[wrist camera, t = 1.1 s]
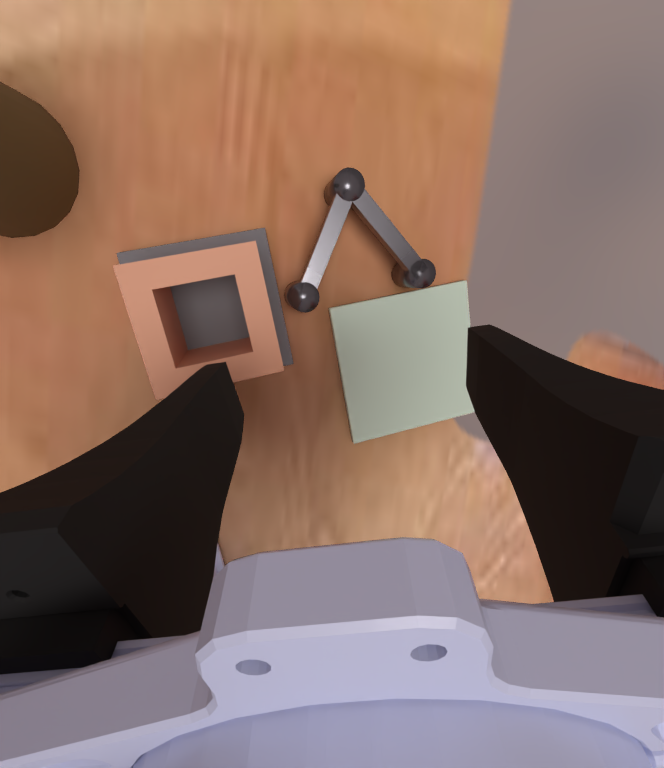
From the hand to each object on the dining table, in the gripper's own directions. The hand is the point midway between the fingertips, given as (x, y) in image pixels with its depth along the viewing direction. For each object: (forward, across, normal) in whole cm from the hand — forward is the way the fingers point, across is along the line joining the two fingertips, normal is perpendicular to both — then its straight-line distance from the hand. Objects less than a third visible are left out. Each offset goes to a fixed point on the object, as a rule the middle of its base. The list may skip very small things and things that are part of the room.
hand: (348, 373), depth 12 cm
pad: (+10, -3, +6) cm, 12 cm away
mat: (+9, +7, +1) cm, 11 cm away
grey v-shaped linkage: (+12, 0, 0) cm, 12 cm away
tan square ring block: (+9, +7, +1) cm, 11 cm away
